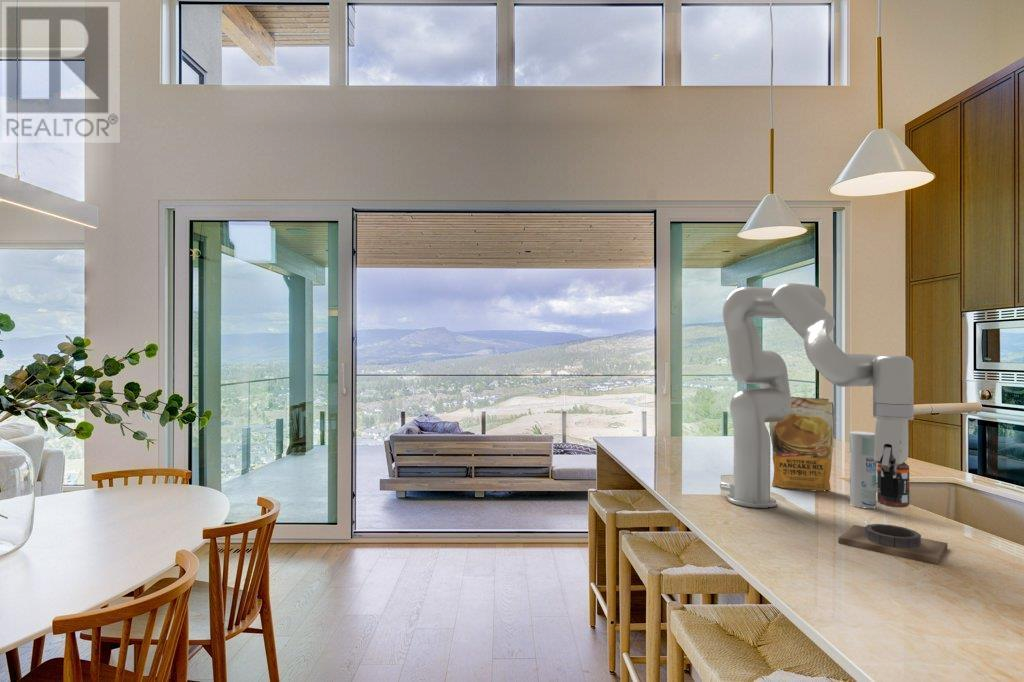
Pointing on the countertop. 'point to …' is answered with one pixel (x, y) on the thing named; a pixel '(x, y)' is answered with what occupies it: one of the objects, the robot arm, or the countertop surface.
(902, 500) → the supplement bottle
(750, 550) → the countertop surface
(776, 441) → the pancake mix bag
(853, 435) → the spray can
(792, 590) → the countertop surface
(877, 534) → the bottle holder
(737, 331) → the robot arm
